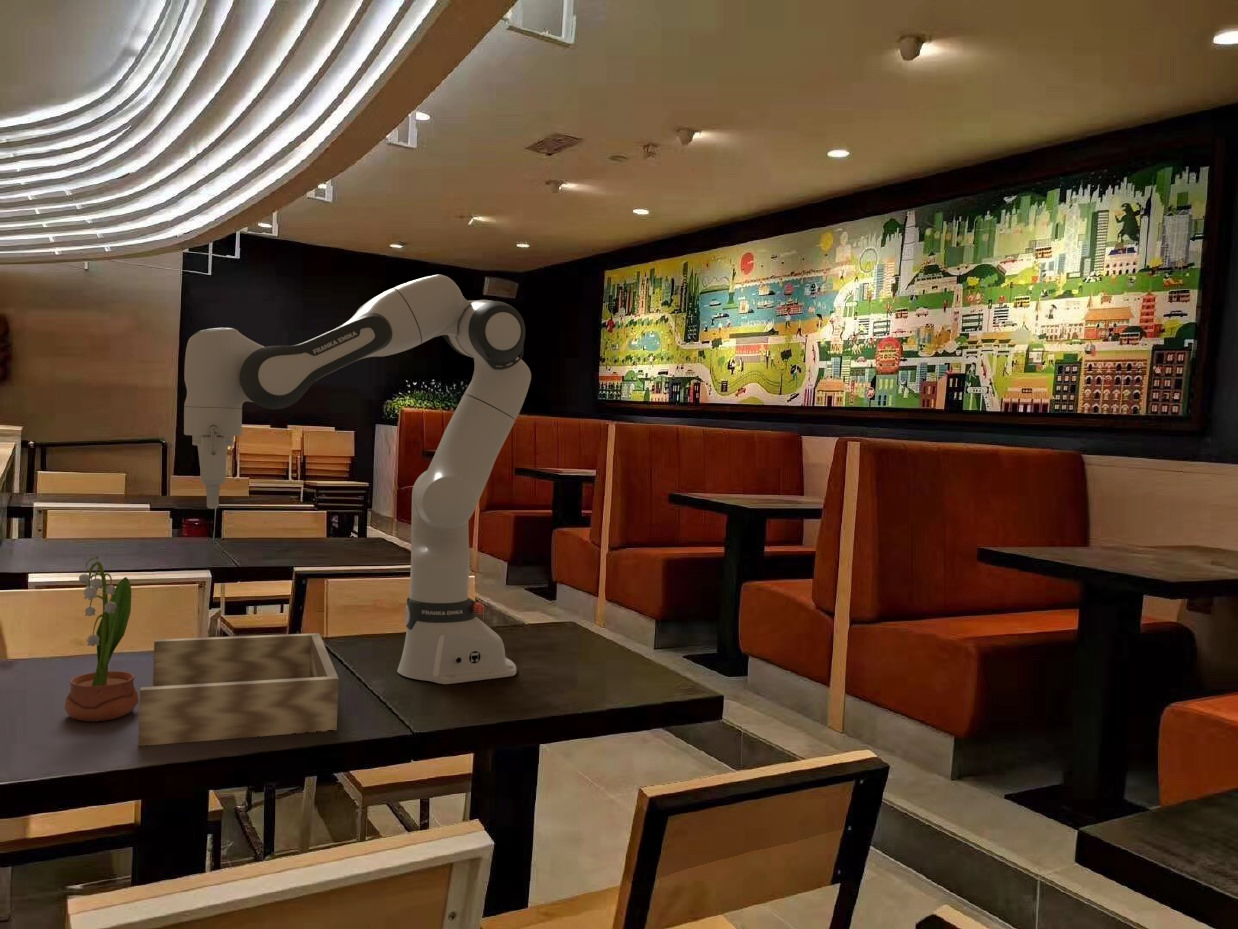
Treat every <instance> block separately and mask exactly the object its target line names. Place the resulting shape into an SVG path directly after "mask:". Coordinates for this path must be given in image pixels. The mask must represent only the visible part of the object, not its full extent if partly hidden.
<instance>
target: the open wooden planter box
mask: <svg viewBox="0 0 1238 929" xmlns="http://www.w3.org/2000/svg"><path fill="white" fill-rule="evenodd" d="M153 643H154V644H153V672H152V686H141V687H140V689H139V703H138V704H139V707H138V708H139V710H138V736H137V737H138V738H137V739H138V741H137V747H143V746H144V747H145V746H146V745H147V746H157V745H169V744H181V743H195V742H205V741H206V742H209V741H218V740H219V741H220V740H230V739H231V740H233V739H243V738H244V739H245V738H256V737H258V736H259V737H268V736H269V737H270V736H279V735H280V736H282V735H283V736H284V735H295V734H294V733H296V734H305V732H309V733H317V732H316V731H318V732H319V731H321V732H328V731H327V730H334V731H337V729H338V706H339V704H338V703H339V702H338V701H339V681H340V680H339V679H340V678H339V677H338V674H337V671H336V669H335V667H334V665H333V662H332V660H331V657H330V655H329V653H328V650H327V648H326V645H325V643H324V641H323V639H322V637H321V634H320V633H319V632H318V633H317V632H313V633H312V632H311V633H290V634H289V633H288V634H287V633H286V634H267V635H265V634H264V635H263V634H262V635H238V636H211V637H190V638H189V637H188V638H187V637H186V638H165V639H164V638H163V639H159V638H158V639H154V642H153ZM292 733H293V734H292ZM147 746H146V747H147Z"/></svg>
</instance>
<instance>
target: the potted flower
mask: <svg viewBox="0 0 1238 929" xmlns="http://www.w3.org/2000/svg"><path fill="white" fill-rule="evenodd" d="M98 558H99V556H93V557H91V558H90V559H88V560H87V561H86V563H85V568H86V570H85V572H84V573H82V574H80V575H79V577H78V579H79V580H78V581H77V582H78V583H80V584H85V589H84V590H83V595H84V597H83V599H84V600H86V599H87V600H89V601H90V602H89V606H88V607H86V608H85V610H84V611H85V615H84V616H86V617H87V616H88V617H91V616H96V608H95V607H94V606H92V602H93V600H94V598H95V599H96V598H99V599H101V600H102V613H101V614H99V615H98V616H97V617H96V619H95V622H94V625H93V629H92V634H90V635H89V636H88V637H87V638H86V639H87V640H86V641H87V644H86V646H87V647H96V656H97V658H96V659H97V665H96V669H95V672H88V673H84V674H81V675H78V676H74V677H72V678H71V680H70V681H69V685H70V691H69V693H68V695H67V697H66V698H65V701H64V702H65V704H64V707H63V709H64V710H65V712H66V714H67V715H68V716H69V717H71V718H73V719H75V720H79V721H83V722H102V721H109V720H114V719H119V718H121V717H124V716H126V715H127V714H128V715H129V714H130V713H131V712H132V711H134V710H135V708H136V706H137V705H138V704H139V703H140V699H139V694H138V691H137V689H136V688H135V686H134V681H135V675H134V674H133V673H131V672H127V671H121V670H109V668H108V667H109V664H110V661H111V660H112V656H113V654H114V652H115V650H116V648H117V647H118V646H119V643H121V641H122V639H123V638H124V636H125V633H126V629H127V626H128V623H129V620H130V619H129V618H130V616H131V613H132V612H131V611H132V610H131V609H132V584H131V582H130V580H129V578H128V577H127V576H125V577H123V578H122V579H121V580H119V581H118V583H117V585H116V587H115V586H114V585H113V583H112V582H113V581H112V580H113V578H112V576H111V574H110V573H109V572H105V571H104V568H103V565H102V563H101V562H100V561H98ZM94 559H96V561H95V562H93V563H91V566H90V567H87V566H88V564H89V563H90V561H92V560H94ZM96 566H97V569H96V570H95V572H93V570H94V568H95V567H96ZM88 570H89V572H88V574H87V571H88ZM97 576H100V578H101V579H100V578H98V577H97ZM106 576H109V577H108V578H109V579H110V580H109V581H110V583H109V585H108V584H107V578H106ZM93 577H94V578H93ZM99 590H102V595H99V594H97V592H98V591H99ZM108 595H110V599H109V598H108ZM108 599H109V600H108ZM100 618H101V619H100ZM99 619H100V622H99V624H98V627H97V630H96V632H95V629H96V625H97V622H98V620H99ZM95 633H96V634H95Z"/></svg>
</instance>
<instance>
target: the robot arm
mask: <svg viewBox="0 0 1238 929" xmlns="http://www.w3.org/2000/svg"><path fill="white" fill-rule="evenodd" d="M440 336H442V337H443V339H444V340H445V341H446V343H447V344H448V345H449V346H450V348H452V349H453V350H454V351H456V352H457V353H458V354H460V355H462V356H465V357H470V358H472V359H473V361H474V362H473V363H474V369H473V370H474V371H473V374H472V378H471V381H470V383H469V384H468V386H467V388H466V389H465V391H464V394H463V395H462V397H461V400H460V401H459V403H458V405H457V407H456V409H455V410H454V412H453V414H452V416H451V418H450V420H449V422H448V424H447V426H446V428H445V429H444V432H443V433H442V437H441V439H440V442H439V444H438V446H437V449H436V451H435V452H434V456H433V457H432V460H431V461H430V464H429V466H428V468H427V469H426V470H425V471H424V472H422V473H421V474H420V475H419V476H418V477H417V479H416V480H415V482H414V484H413V486H412V490H411V521H410V522H411V526H410V527H411V528H410V534H411V535H410V536H411V537H410V552H411V553H410V578H409V596H408V597H407V598H406V599H407V600H406V605H405V627H406V634H405V639H404V645H403V650H402V655H401V657H400V661H399V664H398V666H397V667H398V668H397V673H398V674H399V675H401V676H403V677H406V678H409V679H414V680H419V681H427V682H428V681H429V682H431V683H432V682H433V683H436V684H439V685H441V684H442V685H450V684H459V683H467V682H474V681H482V680H483V681H484V680H491V679H499V678H507V677H513V676H515V675H516V674H517V665H516V664H515V663H514V661H512V660H511V659H509V658H508V657H506V651H505V645H504V642H503V639H502V638H501V636H500V635H499V634H498V633H497V632H495V631H494V630H493V629H492V628H490V626H488V625H487V624H485V623H484V622H483V621H482V620H481V619H480V618H478V617H477V615H482V614H484V612H485V610H486V607H485V606H484V604H483V603H481V602H478V601H475V600H474V599H472V598H470V597H469V584H470V583H469V582H470V564H471V563H470V562H471V561H470V560H471V559H470V557H471V556H470V554H471V553H470V539H469V538H470V537H469V536H470V535H469V534H470V532H469V529H470V528H469V520H470V519H471V517H472V516H473V514H474V512H475V510H476V508H477V506H478V503H479V501H480V499H481V496H482V494H483V492H484V491H485V490H484V489H485V487H486V485H487V483H488V481H489V478H490V476H491V473H492V471H493V468H494V465H495V462H496V460H497V458H498V456H499V454H500V452H501V449H502V448H503V446H504V444H505V441H506V440H507V438H508V436H509V434H510V432H511V431H512V428H513V426H514V424H515V422H516V420H517V419H518V416H519V414H520V412H521V410H522V407H523V405H524V402H525V399H526V397H527V394H528V390H529V388H530V384H531V381H532V372H531V370H530V367H529V366H528V365H527V363H526V362H525V361H524V360H523V359H522V358H523V356H524V352H525V350H524V349H525V348H524V346H525V345H524V343H525V339H526V325H525V322H524V319H523V316H522V315H521V314H520V312H519V311H518V310H517V309H516V308H515V307H513V306H512V305H510V304H508V303H506V302H504V301H499V300H490V299H489V300H488V299H479V300H478V299H477V300H468V299H466V298H465V297H464V296H463V293H462V291H461V289H460V287H459V286H458V285H457V284H456V282H455V281H454V280H453V279H451V278H450V277H449V276H446V275H443V274H433V275H427V276H424V277H420V278H417V279H413V280H410V281H407V282H403V283H402V284H399V285H395V287H392V288H389V289H387V290H384V291H383V292H382V293H380V294H378V295H376V296H374V297H373V298H371V299H369V300H368V301H367V302H366V303H365V302H364V304H363V305H361V306H360V307H359V308H358V309H357V311H356V312H355V313H354V314H353V315H352V317H351V318H350V319H348V320H347V321H346V322H344V323H343V324H341V325H339V326H337V327H336V328H334V329H332V330H329V331H326V332H325V333H322V334H320V335H318V336H316V337H314V338H311V339H308V340H306V341H304V342H301V343H298V344H293V345H268V346H264V345H262V344H259V343H258V342H255V341H253V340H252V339H250V338H248V337H247V336H245V335H243V334H242V333H241V332H239V330H238V329H237V328H234V327H213V328H207V329H201V330H198V331H197V332H195V333H193V334H192V335H191V337H189V339H188V341H187V344H186V349H185V356H184V374H183V375H184V383H185V388H186V398H185V400H184V403H183V404H184V405H183V407H184V408H183V410H184V411H183V428H184V429H183V434H184V435H185V436H191V438H192V442H191V443H192V445H193V446H196V447H197V452H198V462H199V468H200V482H201V484H203V485H205V490H206V491H205V493H206V508H207V509H211V510H214V509H218V508H219V505H220V504H219V503H220V502H219V499H220V489H221V485H224V484H226V480H227V456H228V455H227V454H228V447H233V446H234V441H235V440H234V437H241V436H243V422H242V421H243V404H244V403H245V402H249V403H253V404H255V405H257V406H258V407H261V408H263V409H268V410H281V409H286V408H288V407H290V406H292V405H294V404H295V403H297V402H298V401H299V400H300V399H301V398H302V397H303V395H305V393H306V392H308V390H309V389H310V387H311V386H312V385H313V384H314V383H316V382H317V381H318V380H320V379H322V378H323V377H326V376H327V375H328V376H329V375H330V374H331V373H334V372H336V371H338V370H341V369H342V368H345V367H346V366H348V365H351V364H353V363H354V362H357V361H360V360H362V359H366V358H372V357H374V358H375V357H386V356H391V355H392V356H393V355H396V354H398V353H402V352H405V351H408V350H411V349H413V348H415V347H417V346H419V345H422V344H424V343H425V342H427V341H429V340H432V339H434V338H436V337H440Z"/></svg>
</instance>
